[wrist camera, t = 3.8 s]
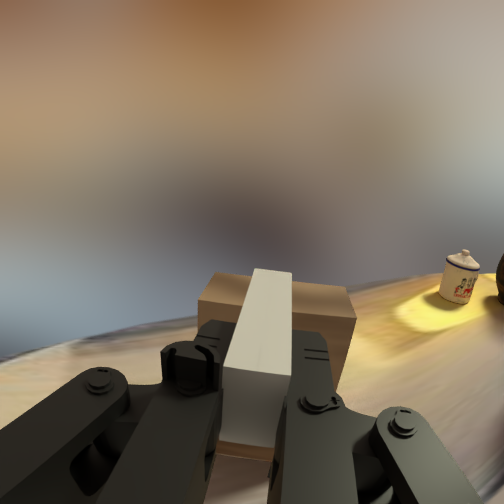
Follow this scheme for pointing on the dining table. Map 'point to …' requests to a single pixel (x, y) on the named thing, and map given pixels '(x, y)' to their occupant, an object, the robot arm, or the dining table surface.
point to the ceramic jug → (500, 280)
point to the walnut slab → (303, 318)
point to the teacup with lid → (459, 278)
